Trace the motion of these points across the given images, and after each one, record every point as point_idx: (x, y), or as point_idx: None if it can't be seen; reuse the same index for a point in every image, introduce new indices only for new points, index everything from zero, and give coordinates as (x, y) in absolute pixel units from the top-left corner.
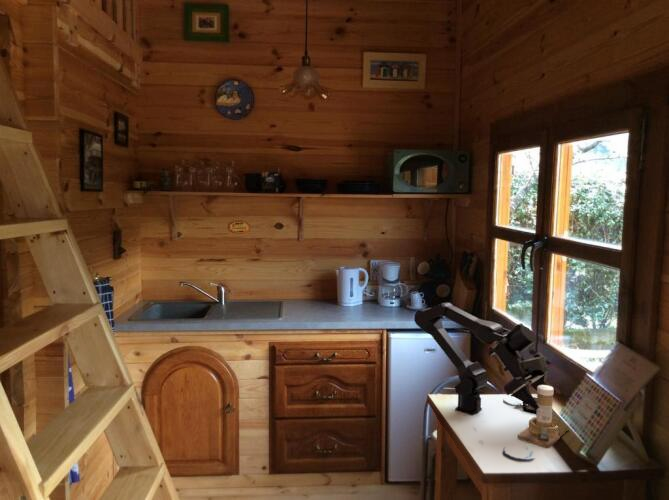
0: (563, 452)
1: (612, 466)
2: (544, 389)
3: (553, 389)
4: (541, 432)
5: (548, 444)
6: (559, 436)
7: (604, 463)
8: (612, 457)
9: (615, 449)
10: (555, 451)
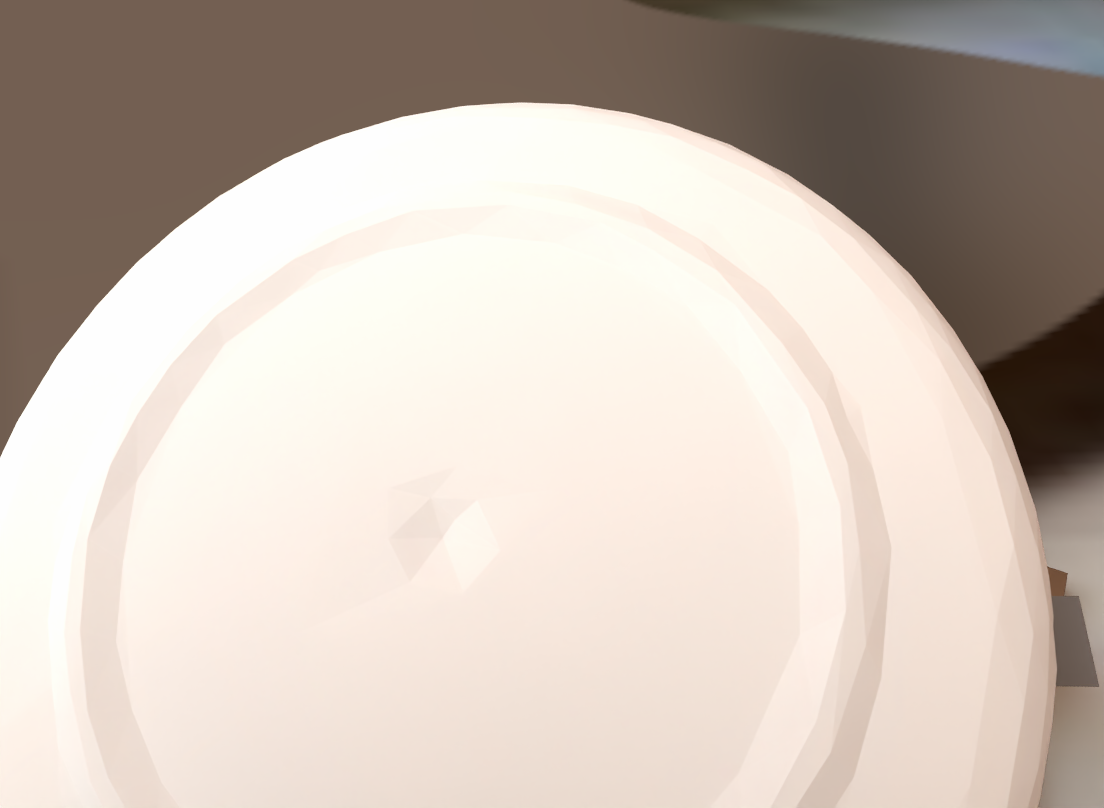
0: (1057, 405)
1: (1094, 6)
2: (1036, 589)
3: (554, 113)
4: (1085, 678)
5: (1062, 573)
6: None
7: (1072, 59)
8: (885, 14)
9: (689, 4)
10: (1090, 492)
